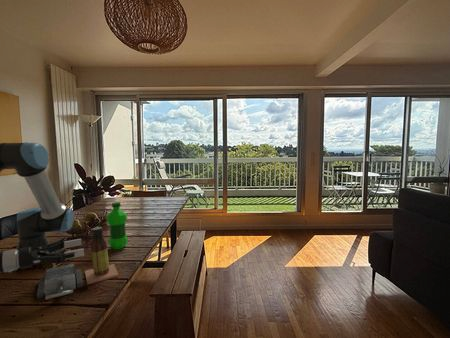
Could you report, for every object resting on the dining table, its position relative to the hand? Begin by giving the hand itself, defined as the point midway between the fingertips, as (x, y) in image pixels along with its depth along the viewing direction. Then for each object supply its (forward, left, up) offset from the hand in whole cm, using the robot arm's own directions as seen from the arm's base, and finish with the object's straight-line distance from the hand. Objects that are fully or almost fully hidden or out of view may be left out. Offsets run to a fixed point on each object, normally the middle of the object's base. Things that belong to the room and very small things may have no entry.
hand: (82, 246), depth 111 cm
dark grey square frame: (+4, -9, -14) cm, 17 cm away
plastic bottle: (-29, +18, -14) cm, 37 cm away
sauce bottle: (0, +6, -13) cm, 15 cm away
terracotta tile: (0, +6, -14) cm, 15 cm away
